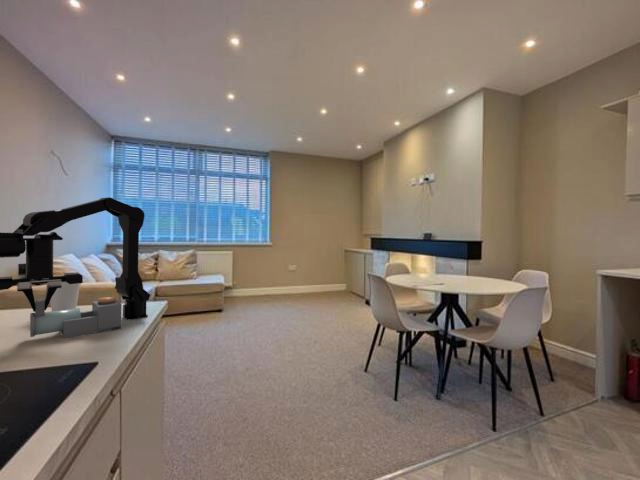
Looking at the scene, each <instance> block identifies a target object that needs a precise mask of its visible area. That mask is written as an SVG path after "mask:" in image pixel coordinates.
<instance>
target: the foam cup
mask: <svg viewBox="0 0 640 480" xmlns="http://www.w3.org/2000/svg"><path fill="white" fill-rule="evenodd" d="M47 284H48V283H46V285H47ZM81 284H82V283H78V284H69V283H67V282H62V283H61V286H62V288H57V290H56V291H55V293H54V294H53V296H52V298H51V300H50V302H49V305H50V310H51V312H52V311H60V310H68V309H76V308H77V305H78V301H79V293H80V286H82V285H81Z"/></svg>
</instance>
